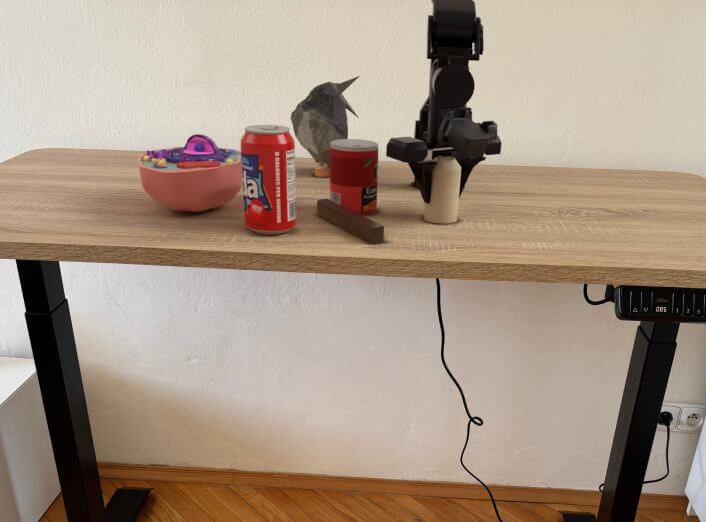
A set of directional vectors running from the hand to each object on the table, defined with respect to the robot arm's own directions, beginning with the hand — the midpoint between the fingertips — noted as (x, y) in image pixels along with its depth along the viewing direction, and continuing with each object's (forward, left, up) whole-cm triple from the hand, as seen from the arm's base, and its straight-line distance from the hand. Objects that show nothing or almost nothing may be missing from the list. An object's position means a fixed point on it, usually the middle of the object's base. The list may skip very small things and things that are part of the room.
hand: (441, 201), depth 127 cm
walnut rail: (+16, -2, -3) cm, 17 cm away
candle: (0, 0, -3) cm, 3 cm away
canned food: (+10, -11, -3) cm, 15 cm away
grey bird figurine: (+1, -39, -3) cm, 39 cm away
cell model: (+34, -23, -3) cm, 41 cm away
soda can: (+28, -6, -3) cm, 28 cm away
